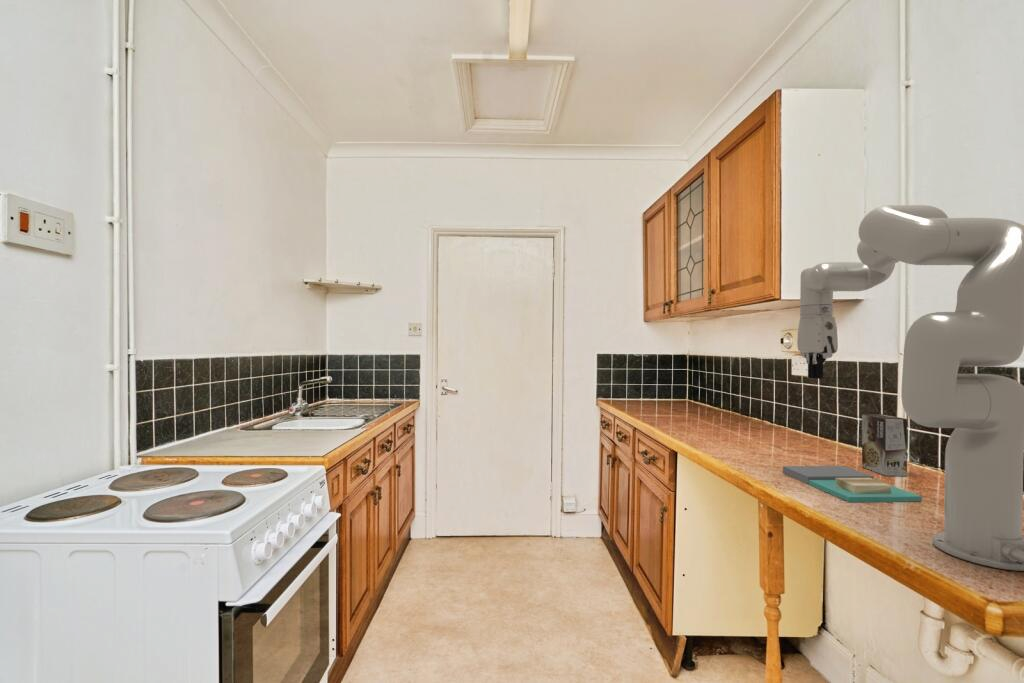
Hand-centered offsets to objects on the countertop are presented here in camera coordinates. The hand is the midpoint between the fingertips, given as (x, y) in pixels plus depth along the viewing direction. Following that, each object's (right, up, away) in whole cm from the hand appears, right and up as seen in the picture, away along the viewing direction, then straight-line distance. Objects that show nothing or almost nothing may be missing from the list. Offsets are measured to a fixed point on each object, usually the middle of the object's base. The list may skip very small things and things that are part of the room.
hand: (815, 378), depth 125 cm
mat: (+2, -27, -14) cm, 31 cm away
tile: (+1, -26, -15) cm, 30 cm away
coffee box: (+23, -28, +5) cm, 37 cm away
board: (+2, -27, -2) cm, 27 cm away
